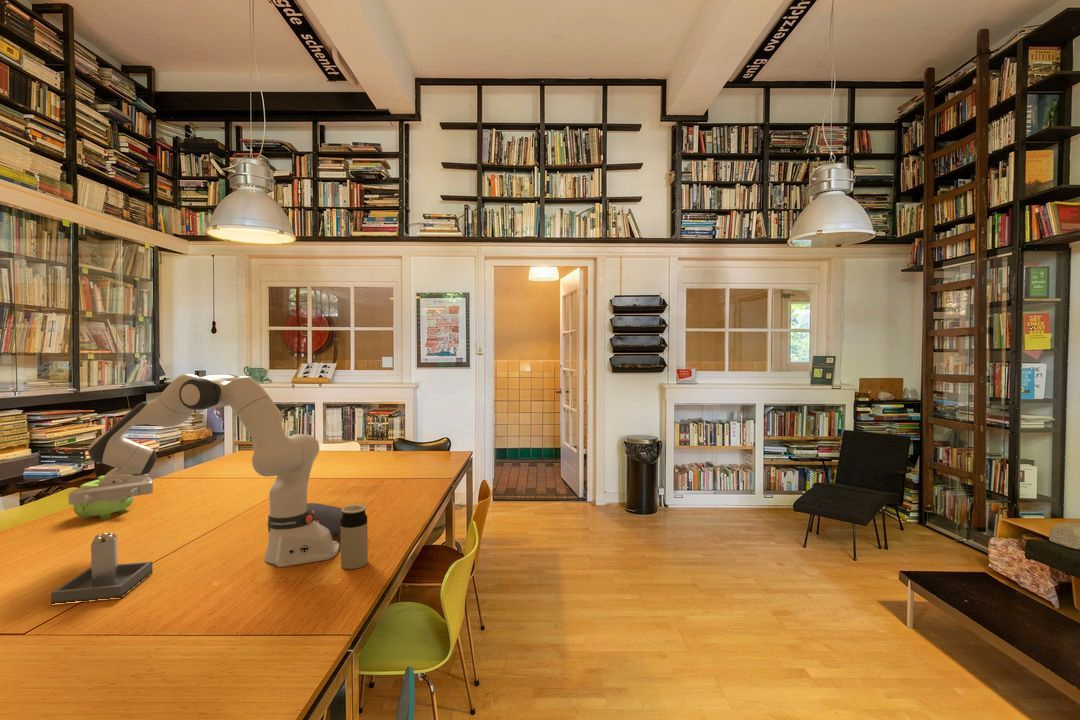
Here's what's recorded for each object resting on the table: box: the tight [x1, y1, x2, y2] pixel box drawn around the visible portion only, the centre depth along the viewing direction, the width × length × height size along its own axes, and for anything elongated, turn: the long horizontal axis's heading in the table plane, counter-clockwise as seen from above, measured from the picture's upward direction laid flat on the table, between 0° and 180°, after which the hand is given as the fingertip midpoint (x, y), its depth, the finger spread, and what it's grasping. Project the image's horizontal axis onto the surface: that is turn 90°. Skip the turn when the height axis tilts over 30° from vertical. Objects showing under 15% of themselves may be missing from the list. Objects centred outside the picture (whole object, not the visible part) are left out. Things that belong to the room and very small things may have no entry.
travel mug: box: [340, 504, 369, 570], centre depth 158 cm, size 8×8×18 cm
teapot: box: [72, 475, 134, 520], centre depth 205 cm, size 25×22×16 cm
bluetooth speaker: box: [307, 502, 343, 537], centre depth 184 cm, size 23×9×10 cm, turn 62°
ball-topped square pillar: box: [90, 532, 119, 587], centre depth 142 cm, size 5×5×15 cm
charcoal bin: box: [50, 561, 154, 605], centre depth 142 cm, size 16×16×4 cm
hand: (109, 497), depth 151 cm, fingers open, 8 cm apart
